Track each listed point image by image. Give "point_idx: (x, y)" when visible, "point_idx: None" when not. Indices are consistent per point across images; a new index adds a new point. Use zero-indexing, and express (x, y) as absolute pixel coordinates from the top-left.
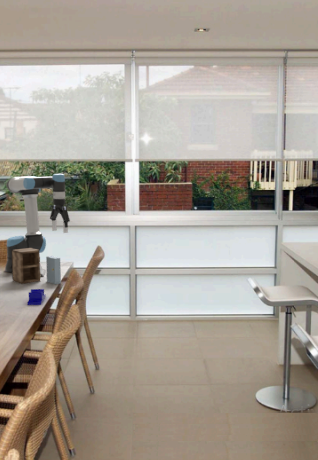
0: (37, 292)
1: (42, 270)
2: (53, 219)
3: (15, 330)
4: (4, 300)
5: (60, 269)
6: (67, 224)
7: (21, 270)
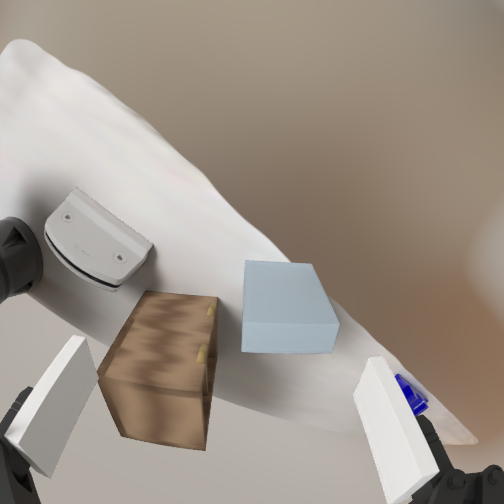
0: (420, 413)
1: (87, 214)
2: (20, 473)
3: (454, 436)
4: (341, 432)
5: (324, 291)
6: (440, 449)
7: (212, 391)
